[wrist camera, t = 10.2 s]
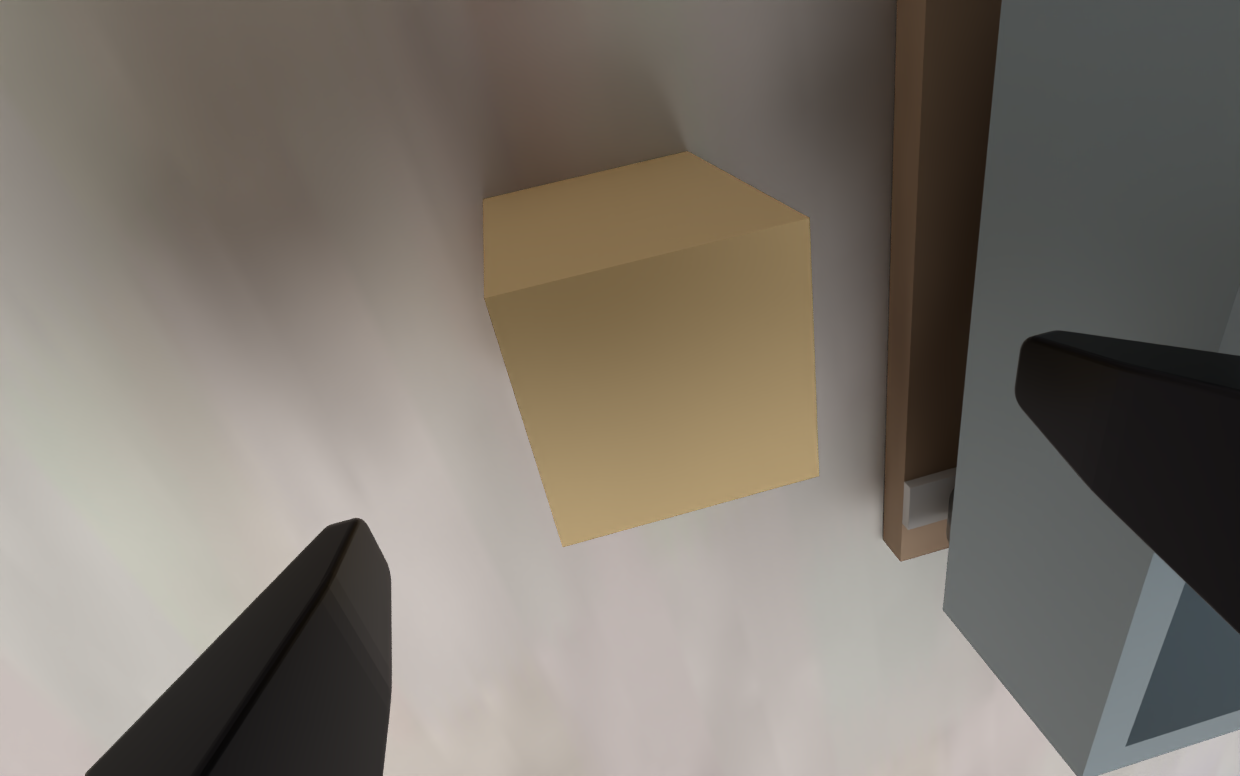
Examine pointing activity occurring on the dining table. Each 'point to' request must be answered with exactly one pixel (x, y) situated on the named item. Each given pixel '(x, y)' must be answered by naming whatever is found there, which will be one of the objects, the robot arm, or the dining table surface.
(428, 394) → the dining table surface
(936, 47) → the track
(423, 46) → the dining table surface
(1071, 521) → the box
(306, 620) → the robot arm
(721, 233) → the ochre block
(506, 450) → the dining table surface
